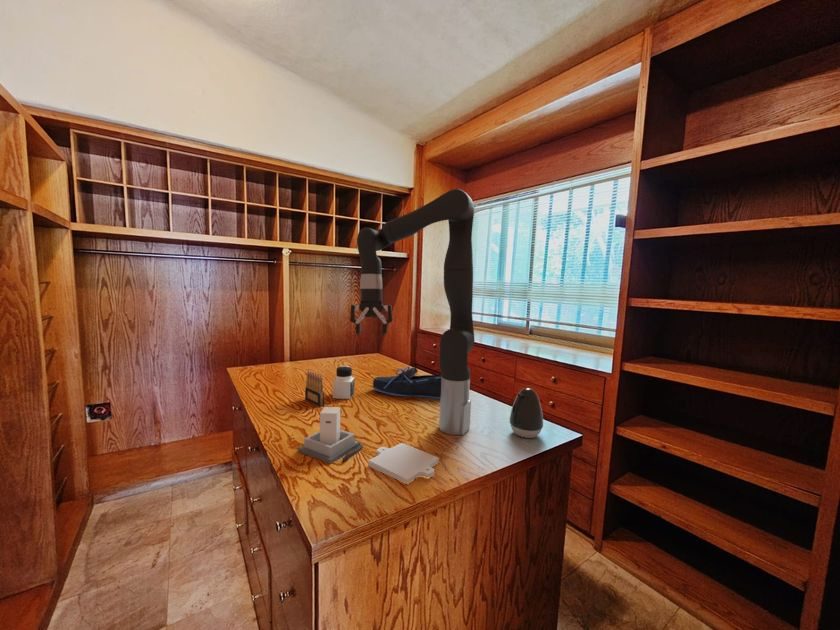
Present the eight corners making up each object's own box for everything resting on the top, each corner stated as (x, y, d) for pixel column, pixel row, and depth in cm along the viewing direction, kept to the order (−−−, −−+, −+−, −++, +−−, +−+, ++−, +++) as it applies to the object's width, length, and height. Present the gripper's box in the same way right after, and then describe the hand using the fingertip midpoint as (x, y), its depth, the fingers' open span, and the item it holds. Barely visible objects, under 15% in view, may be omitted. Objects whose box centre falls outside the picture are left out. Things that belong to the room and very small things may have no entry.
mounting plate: (361, 463, 89) (361, 456, 89) (394, 446, 100) (395, 439, 99) (415, 491, 78) (416, 483, 78) (446, 468, 89) (447, 461, 89)
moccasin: (376, 386, 154) (376, 360, 153) (453, 390, 152) (454, 364, 151) (370, 396, 140) (370, 368, 139) (454, 400, 139) (455, 372, 138)
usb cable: (360, 446, 98) (361, 443, 98) (363, 447, 97) (363, 444, 97) (341, 461, 90) (341, 457, 89) (344, 462, 89) (344, 458, 89)
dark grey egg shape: (501, 433, 110) (504, 386, 108) (520, 425, 116) (523, 381, 115) (530, 445, 102) (533, 395, 101) (548, 436, 109) (552, 389, 107)
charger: (340, 441, 98) (340, 407, 97) (336, 448, 94) (336, 413, 93) (324, 440, 98) (324, 406, 97) (319, 448, 94) (320, 413, 93)
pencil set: (304, 399, 134) (305, 369, 132) (309, 398, 135) (309, 368, 134) (319, 407, 126) (320, 375, 125) (324, 406, 128) (324, 374, 127)
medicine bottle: (350, 399, 136) (351, 369, 134) (332, 398, 136) (332, 369, 134) (354, 393, 143) (354, 365, 141) (337, 392, 143) (337, 364, 142)
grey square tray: (360, 445, 98) (360, 433, 98) (330, 464, 88) (330, 450, 88) (329, 434, 104) (329, 423, 104) (297, 451, 94) (297, 439, 93)
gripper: (348, 287, 114) (349, 335, 115) (391, 287, 115) (391, 335, 115) (352, 288, 122) (352, 333, 123) (392, 288, 122) (392, 333, 123)
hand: (371, 334), depth 119 cm, fingers open, 8 cm apart
